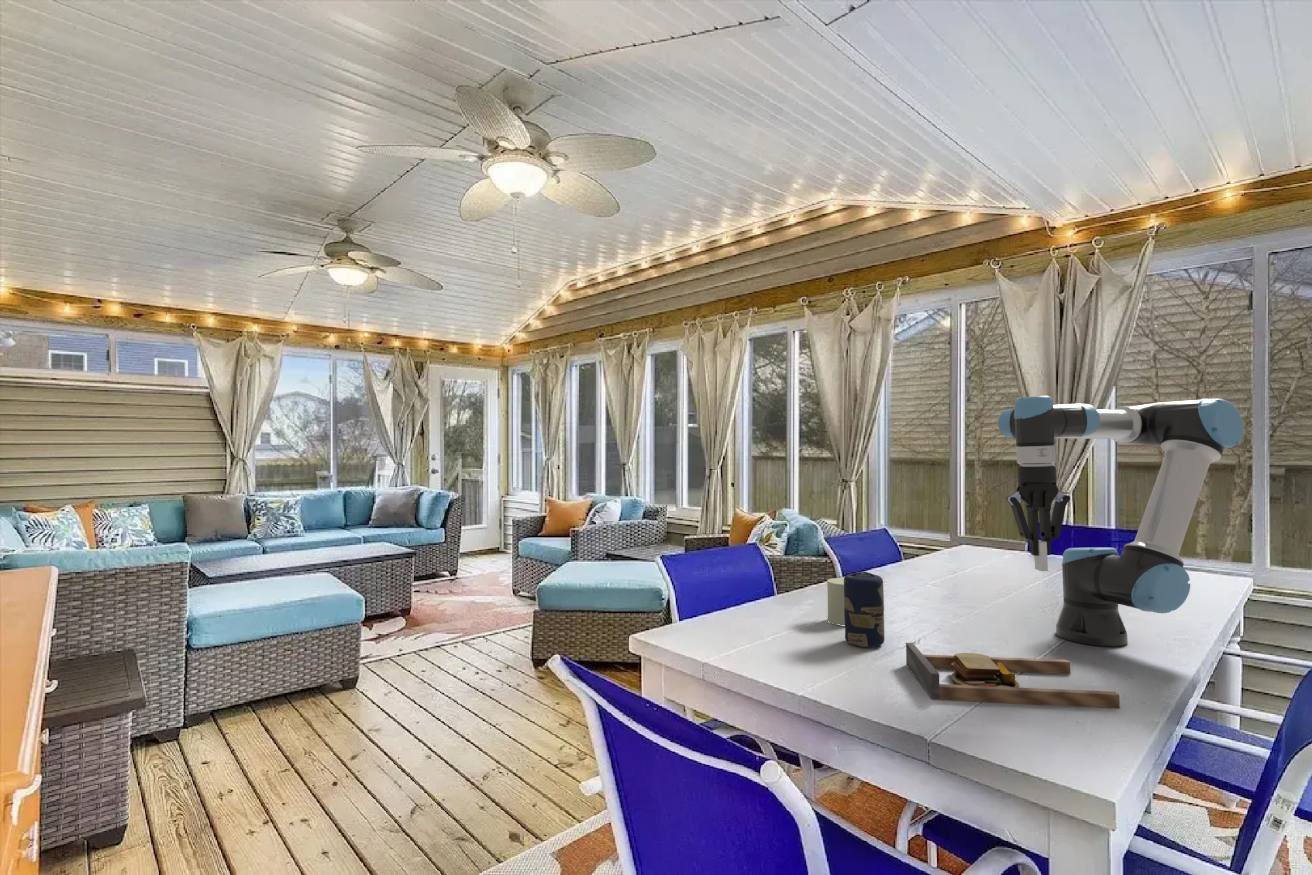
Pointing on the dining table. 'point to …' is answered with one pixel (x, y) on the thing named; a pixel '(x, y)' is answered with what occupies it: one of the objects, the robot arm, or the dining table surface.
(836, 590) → the can
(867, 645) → the canister
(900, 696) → the dining table surface
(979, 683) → the toy sandwich meal
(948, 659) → the open-ended frame
